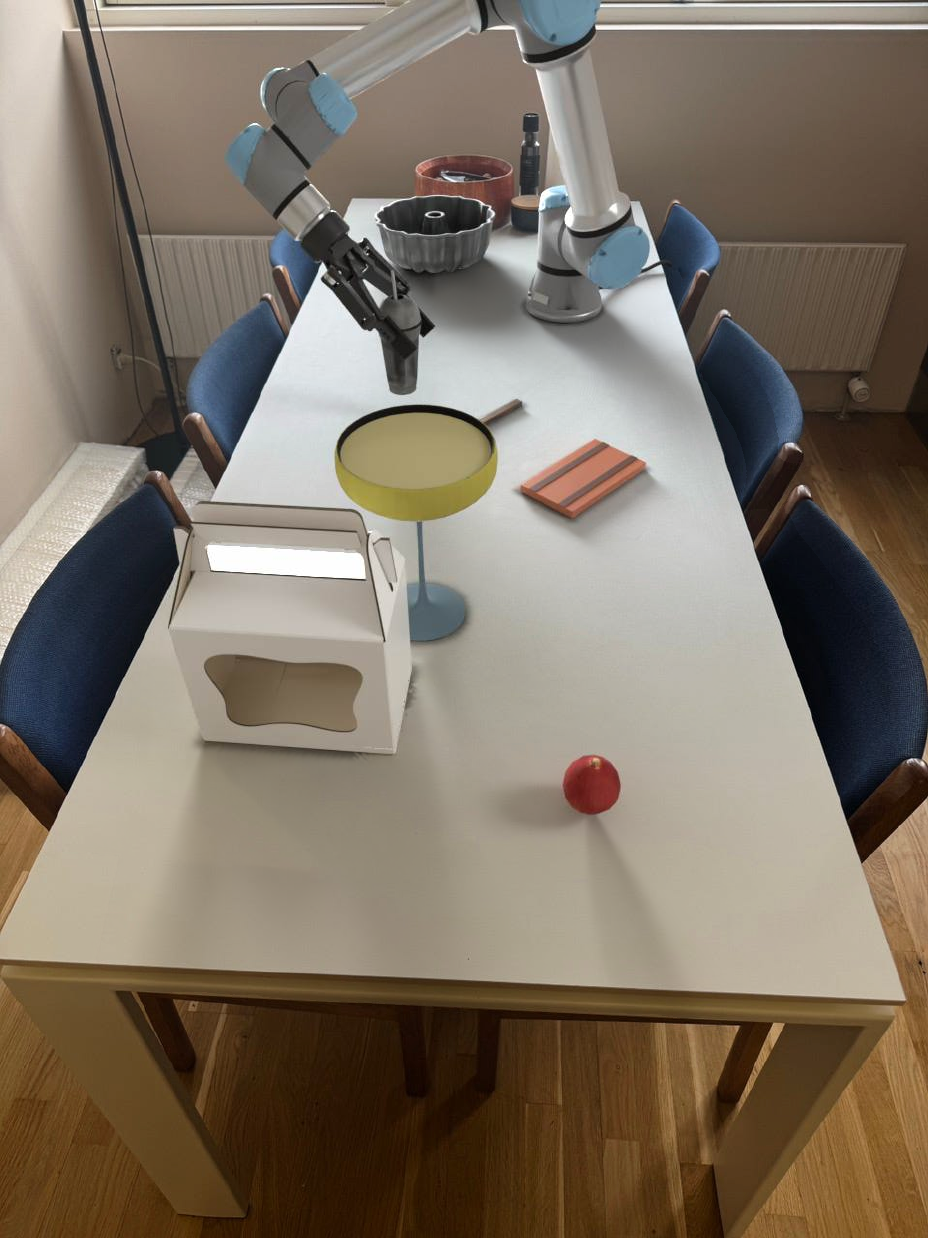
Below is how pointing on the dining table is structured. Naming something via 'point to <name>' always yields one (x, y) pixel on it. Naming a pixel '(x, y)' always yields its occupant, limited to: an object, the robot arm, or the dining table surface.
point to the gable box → (292, 628)
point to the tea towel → (583, 477)
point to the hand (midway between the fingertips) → (420, 342)
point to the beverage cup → (409, 322)
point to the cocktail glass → (418, 485)
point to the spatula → (501, 411)
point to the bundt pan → (435, 232)
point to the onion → (591, 784)
